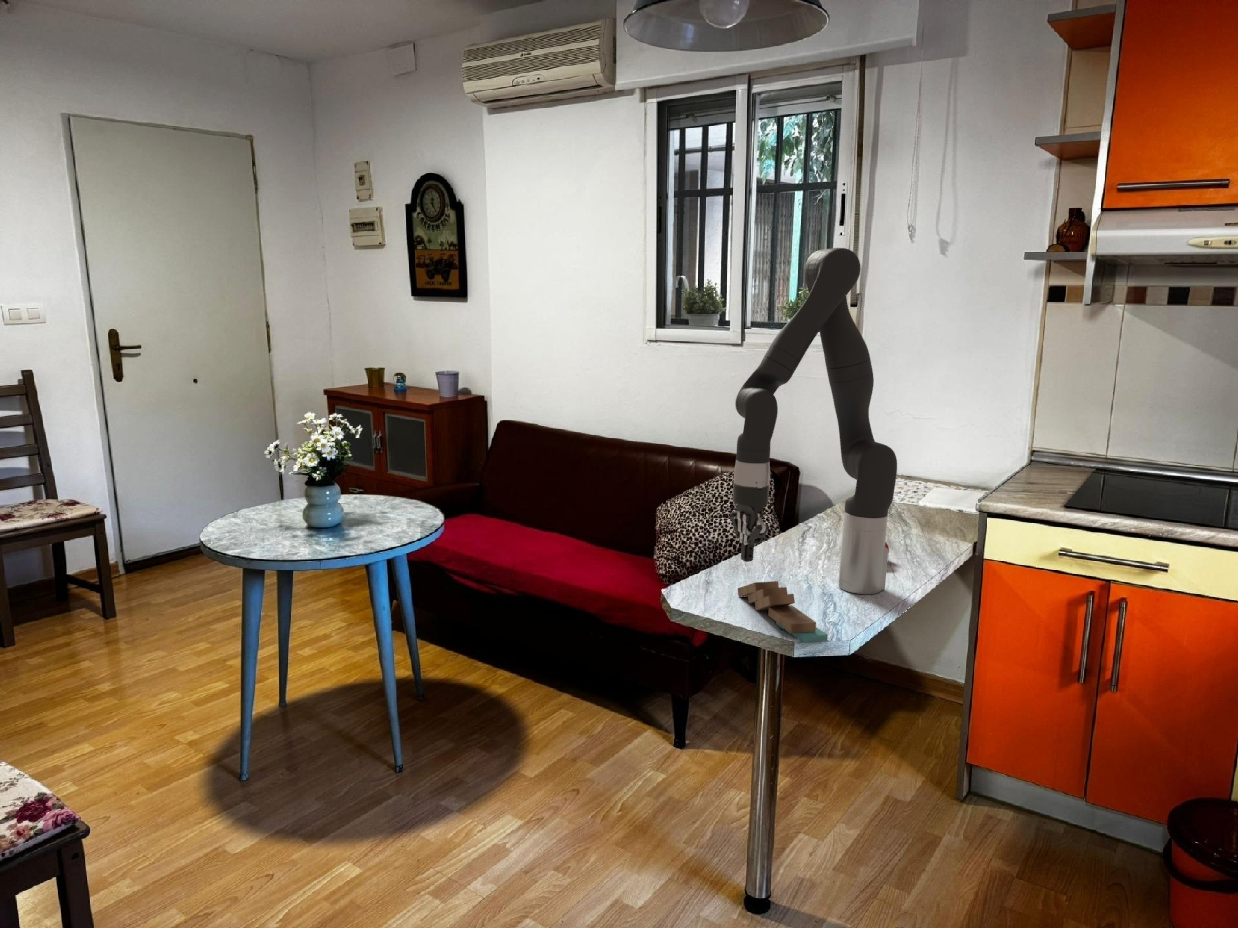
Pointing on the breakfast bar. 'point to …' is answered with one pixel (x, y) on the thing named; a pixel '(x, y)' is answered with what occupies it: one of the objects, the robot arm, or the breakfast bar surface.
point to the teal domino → (809, 635)
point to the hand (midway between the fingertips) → (746, 560)
